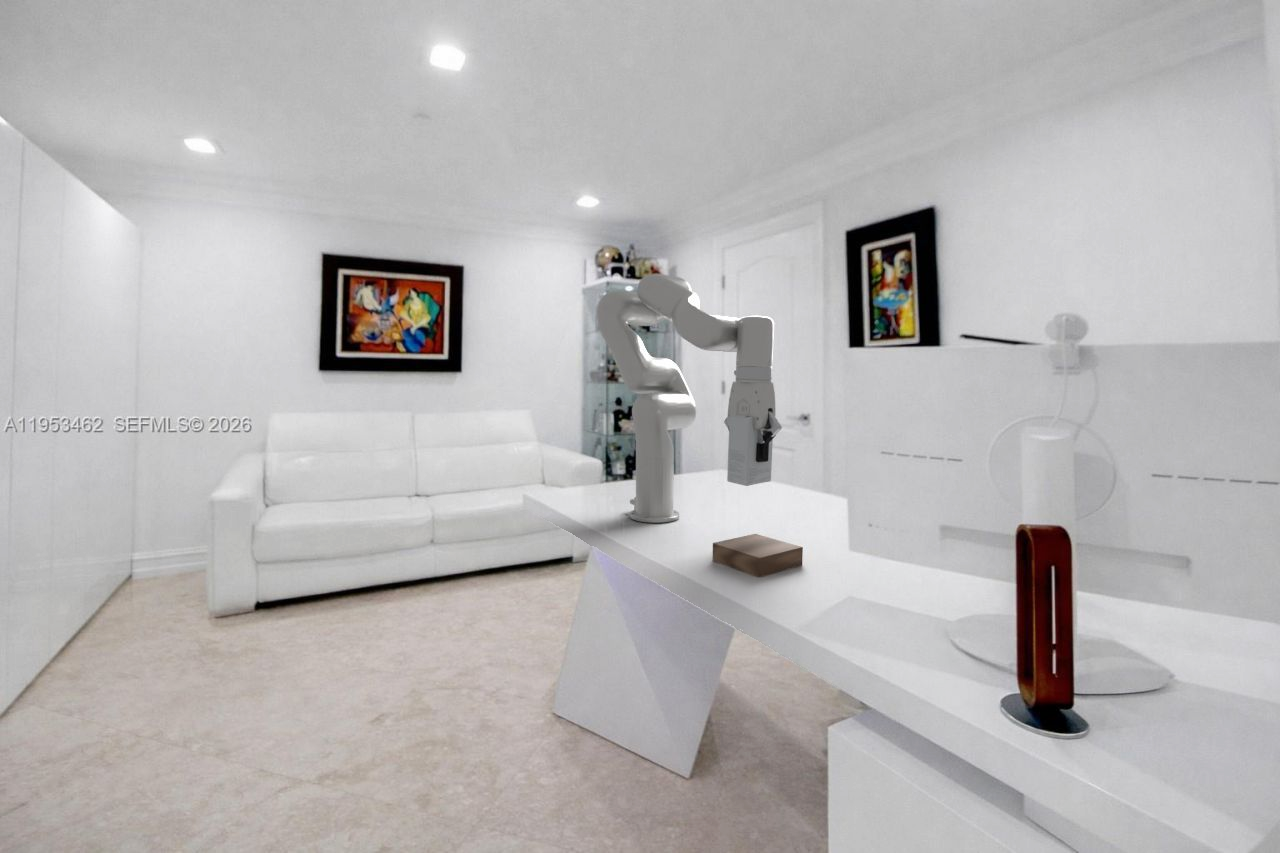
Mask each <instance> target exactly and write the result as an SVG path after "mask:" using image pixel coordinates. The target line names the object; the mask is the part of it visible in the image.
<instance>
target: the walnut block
mask: <svg viewBox="0 0 1280 853" xmlns="http://www.w3.org/2000/svg"><path fill="white" fill-rule="evenodd" d="M803 548H804V547H803V546H801V545H796V544H794V543H790V542H786V541H783V540H779V539H777V538H776V539H775V538H772V537H768V536H764V535H761V534H758V533H754V534H748V535H743V536H739V537H734V538H730V539H725V540H720V541H716V542H712V562H716V563H718V564H721V565H724V566H726V567H729V568H732V569H736V570H737V571H740V572H743V573H746V574H749V575H752V576H755V577H758V578H761V577H765V576H768V575H772V574H775V573H779V572H783V571H785V570H790V569H793V568H797V567H801V566H803V556H804V555H803V554H804V550H803Z"/></svg>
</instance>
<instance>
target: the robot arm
mask: <svg viewBox="0 0 1280 853" xmlns="http://www.w3.org/2000/svg"><path fill="white" fill-rule="evenodd" d="M699 298H700V297H699V296H698V294H697V293H696V292H693V291H692V287H691V285H690V283H688V282H687V280H686V279H684V278H682V277H680V276H674V275H668V274H661V273H650V274H647V275H645V276H643V277H642V278H641V279H640V280H639V282H638V284H637V289H636V291H628V290H613V291H609V292H607V293H605V294H604V295H602V297H600V300H599V302H598V304H597V309H596V318H597V325H598V329H599V332H600V333H601V336H602V338H603V340H604V341H605V343H606V345H607V347H608V348H609V350H610V351H611V354H612V357H613V360H614V361H615V365H616V366H617V369H618V371H619V373H620V376H621V378H622V380H623V383H624V385H625V387H626V388H627V390H628V391H629V392H631V393H633V394H638V395H639V394H640V396H638V397H637V398H636V399H635V400H634V402H633V405H632V409H631V415H632V421H633V427H634V433H635V497H634V498H631V499H630V500H629V503H630V504H631V505H633V507H634V509H633V510H631V511H630V512H629V518H630V519H631V520H633V521H637V522H641V523H642V522H643V523H649V524H650V523H652V524H654V523H655V524H656V523H657V524H660V523H661V524H662V523H668V522H669V523H670V522H674V521H677V520H678V519H679V518H680V513H679V512H678V511H677V510H675V509H674V483H675V482H674V478H675V477H674V476H675V475H674V474H675V468H674V467H675V465H674V463H675V462H674V461H675V459H674V458H675V455H674V454H675V451H674V450H675V449H674V443H673V441H672V438H671V436H670V434H669V431H671V430H681V429H685V428H688V427H690V426H691V425H693V423H694V422H695V421H696V417H697V407H696V402H695V400H694V397H693V395H692V393H691V391H690V389H689V386H688V384H687V382H686V381H685V378H684V376H683V374H682V372H681V370H680V368H679V366H678V365H677V364H676V363H675V362H674V361H672V360H671V359H669V358H666V357H654V356H652V355H650V354H649V353H648V351H647V349H646V347H645V344H644V342H643V340H642V339H641V337H640V336H639V334H637V333H636V332H635V331H634V330H633V329H632V328H631V327H630V326H631V325H632V326H642V327H649V326H655V325H657V324H659V323H662V322H663V321H665V320H667V321H669V322H671V323H672V325H673V328H674V330H675V332H676V334H677V335H679V337H681V338H682V339H684V340H685V341H687V342H688V343H690V344H691V345H693V346H694V347H696V348H699V349H701V350H703V351H708V352H727V353H736V361H735V364H736V366H735V370H734V372H733V374H734V376H735V381H732V383H731V384H732V385H731V388H730V393H729V398H728V399H729V400H728V407H727V416H726V418H725V419H724V421H723V422H724V423H723V424H725V426H726V428H727V429H728V431H729V418H730V415H744V416H751V417H753V429H754V430H757V431H758V434H757V436H758V440H759V443H757V448H756V462H767V461H768V455H769V443H771V442H772V439H773V440H774V438H775V437H777V434H778V433H779V432H780V431H781V430H782V428H783V426H782V425H781V423H780V422H779V420H778V419H777V418H776V395H775V387H774V382H772V378H773V377H772V375H773V356H774V355H773V354H774V353H773V352H774V335H775V334H774V333H775V332H774V330H775V322H774V320H773V319H772V318H771V317H769V316H763V315H762V316H761V315H750V316H749V315H748V316H743V317H741V318H738V317H729V316H722V315H712V314H710V313H707V312H705V311H704V310H702V309H700V305H701V304H700V302H701V301H700V299H699ZM641 394H642V395H641ZM767 420H768V422H767ZM764 426H765V428H762V427H764ZM769 429H770V430H769ZM763 432H764V434H765V435H763Z"/></svg>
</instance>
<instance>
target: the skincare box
mask: <svg viewBox="0 0 1280 853" xmlns="http://www.w3.org/2000/svg"><path fill="white" fill-rule="evenodd" d="M767 422H768V420H767ZM762 428H765V426H764V427H762ZM769 430H770V429H769ZM757 434H758V431H757V430H754V429H753V417H751V416H744V415H730V418H729V430H728V447H727V448H728V451H727V476H726V478H727V479H726V480H727V482H728V483H733V484H737V485H741V486H745V487H749V486H753V485H758V484H764V483H768V482H771V481H772V467H773V466H772V465H773V464H772V462H773V441H774V438H773V439H772V442H771V443H769V455H768V461H767V462H756V448H757V443H759V440H758V436H757ZM763 435H765V434H764V432H763Z"/></svg>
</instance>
